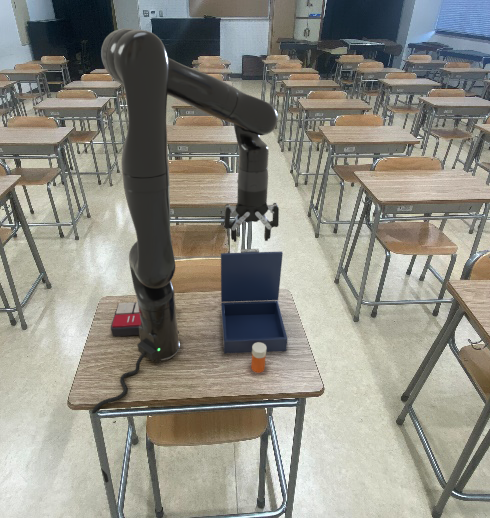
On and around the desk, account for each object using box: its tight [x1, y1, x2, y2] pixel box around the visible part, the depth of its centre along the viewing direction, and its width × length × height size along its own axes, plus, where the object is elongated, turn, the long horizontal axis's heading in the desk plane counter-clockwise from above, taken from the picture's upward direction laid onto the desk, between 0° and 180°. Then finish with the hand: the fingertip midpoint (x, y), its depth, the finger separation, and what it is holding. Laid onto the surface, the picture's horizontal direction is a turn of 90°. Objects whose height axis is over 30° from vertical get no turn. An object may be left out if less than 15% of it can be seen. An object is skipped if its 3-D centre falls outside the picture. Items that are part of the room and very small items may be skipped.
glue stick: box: [250, 342, 267, 374], centre depth 99 cm, size 4×4×8 cm
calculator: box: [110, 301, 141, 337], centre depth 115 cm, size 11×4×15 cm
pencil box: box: [220, 300, 288, 354], centre depth 111 cm, size 16×17×5 cm
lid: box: [220, 248, 284, 303], centre depth 113 cm, size 16×17×5 cm
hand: (250, 239), depth 108 cm, fingers open, 8 cm apart
